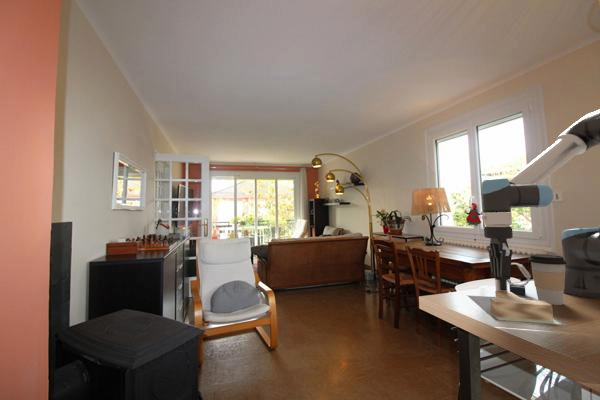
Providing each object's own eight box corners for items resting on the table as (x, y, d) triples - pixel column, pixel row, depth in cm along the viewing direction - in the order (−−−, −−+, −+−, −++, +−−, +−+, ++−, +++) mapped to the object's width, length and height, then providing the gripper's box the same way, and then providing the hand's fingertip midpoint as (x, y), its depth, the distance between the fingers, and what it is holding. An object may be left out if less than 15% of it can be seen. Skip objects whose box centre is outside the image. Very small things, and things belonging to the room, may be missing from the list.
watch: (533, 298, 93) (530, 265, 94) (503, 294, 98) (501, 263, 99) (531, 294, 98) (529, 263, 99) (504, 290, 103) (502, 261, 103)
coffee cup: (579, 307, 83) (575, 257, 84) (548, 307, 84) (544, 258, 84) (551, 298, 93) (548, 253, 94) (523, 298, 93) (520, 254, 94)
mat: (520, 299, 92) (520, 298, 92) (568, 326, 69) (568, 325, 69) (467, 296, 97) (467, 295, 97) (495, 321, 74) (495, 320, 74)
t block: (527, 305, 85) (526, 292, 85) (553, 320, 73) (552, 305, 73) (480, 302, 89) (479, 290, 89) (496, 316, 76) (495, 302, 76)
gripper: (477, 225, 96) (481, 293, 95) (492, 226, 84) (497, 305, 82) (502, 225, 94) (506, 294, 93) (521, 226, 82) (526, 307, 80)
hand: (502, 299), depth 88 cm, fingers closed
